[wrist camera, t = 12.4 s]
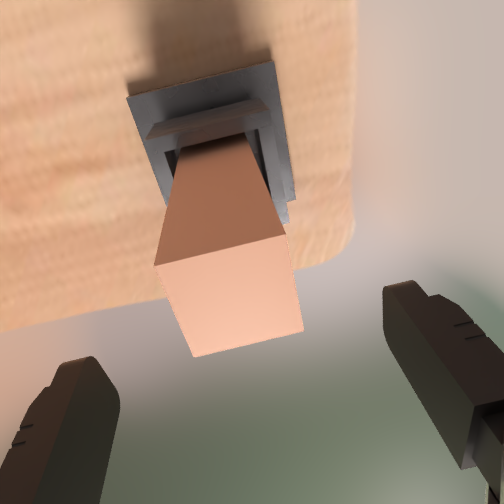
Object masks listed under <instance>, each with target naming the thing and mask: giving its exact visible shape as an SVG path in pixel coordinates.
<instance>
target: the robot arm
mask: <svg viewBox="0 0 504 504" xmlns="http://www.w3.org/2000/svg"><path fill="white" fill-rule="evenodd" d="M382 295H383V330H384V335H385V338H386V341H387V344H388V346H389V348H390V350H391V352H392V354H393V355H394V357H395V359H396V360H397V362H398V364H399V366H400V367H401V369H402V371H403V372H404V374H405V376H406V377H407V379H408V381H409V382H410V384H411V386H412V388H413V389H414V391H415V393H416V394H417V396H418V398H419V400H420V401H421V403H422V405H423V406H424V408H425V410H426V411H427V413H428V415H429V417H430V418H431V420H432V422H433V423H434V425H435V427H436V429H437V430H438V432H439V434H440V435H441V437H442V439H443V440H444V442H445V444H446V446H447V447H448V449H449V451H450V452H451V454H452V456H453V457H454V459H455V461H456V462H457V464H458V466H459V468H460V469H461V470H463V469H467V468H472V467H476V466H477V467H478V468H479V469H480V472H481V473H482V475H483V476H484V478H485V479H486V481H487V483H486V494H485V504H504V353H503V352H502V351H501V350H500V349H499V348H498V347H497V345H496V344H494V342H493V341H492V340H491V339H490V338H489V337H486V335H485V333H484V332H483V330H482V329H481V328H480V327H479V326H478V325H477V324H474V322H473V320H472V319H471V318H470V317H469V315H467V313H466V312H465V311H464V310H463V309H462V308H461V307H460V306H459V305H457V304H456V303H454V302H452V301H450V300H449V299H447V298H445V297H443V296H441V295H439V294H438V295H433V296H429V297H428V295H427V294H426V293H425V292H424V291H423V289H422V288H421V287H420V286H419V285H418V284H417V283H416V282H415V281H413V280H410V281H406V282H402V283H397V284H393V285H389V286H385V287H384V288H383V294H382ZM119 413H120V399H119V395H118V392H117V390H116V388H115V386H114V385H113V383H112V382H111V380H110V379H109V377H108V376H107V374H106V373H105V371H104V370H103V369H102V367H101V365H100V364H99V362H98V361H97V360H96V359H95V358H94V357H92V356H89V357H85V358H81V359H77V360H73V361H68V362H65V363H62V364H61V365H60V366H59V367H58V369H57V372H56V374H55V376H54V379H53V381H52V383H51V385H50V386H49V387H45V388H44V389H43V390H42V392H41V393H40V394H39V395H38V397H37V398H36V399H35V400H34V401H33V403H32V404H31V405H30V406H29V408H28V410H27V413H26V414H25V417H24V419H23V421H22V423H21V425H20V431H18V432H17V434H16V436H15V438H14V440H13V442H12V448H11V449H9V451H8V453H7V455H6V457H5V459H4V461H3V464H2V466H1V468H0V504H99V502H100V498H101V494H102V489H103V485H104V480H105V476H106V471H107V467H108V462H109V458H110V453H111V448H112V444H113V440H114V435H115V431H116V426H117V422H118V418H119Z"/></svg>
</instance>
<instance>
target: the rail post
mask: <svg viewBox="0 0 504 504" xmlns="http://www.w3.org/2000/svg"><path fill="white" fill-rule="evenodd" d="M154 269H155V271H156V273H157V275H158V278H159V280H160V282H161V284H162V287H163V289H164V291H165V293H166V296H167V298H168V300H169V302H170V305H171V307H172V309H173V311H174V314H175V316H176V318H177V320H178V323H179V325H180V327H181V330H182V332H183V334H184V336H185V339H186V341H187V343H188V345H189V348H190V350H191V352H192V354H193V357H199V356H203V355H207V354H211V353H215V352H219V351H223V350H228V349H232V348H236V347H240V346H244V345H248V344H253V343H257V342H261V341H265V340H269V339H273V338H277V337H281V336H286V335H290V334H294V333H298V332H302V331H304V327H303V322H302V317H301V311H300V306H299V301H298V296H297V290H296V285H295V280H294V274H293V269H292V264H291V258H290V253H289V248H288V243H287V237H286V233H285V231H284V228H283V226H282V223H281V221H280V218H279V216H278V214H277V211H276V209H275V206H274V204H273V201H272V199H271V196H270V194H269V191H268V189H267V187H266V184H265V182H264V179H263V177H262V174H261V172H260V169H259V167H258V165H257V162H256V160H255V157H254V155H253V152H252V150H251V147H250V145H249V143H248V140H247V138H246V135H245V133H244V132H243V133H238V134H234V135H230V136H226V137H222V138H218V139H214V140H210V141H206V142H202V143H198V144H194V145H190V146H186V147H182V148H181V149H180V153H179V158H178V162H177V166H176V171H175V175H174V179H173V184H172V188H171V193H170V197H169V201H168V206H167V210H166V214H165V219H164V223H163V228H162V232H161V236H160V241H159V245H158V249H157V254H156V258H155V263H154Z"/></svg>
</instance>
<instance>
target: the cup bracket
mask: <svg viewBox="0 0 504 504" xmlns="http://www.w3.org/2000/svg"><path fill="white" fill-rule="evenodd" d="M126 99H127V102H128V105H129V107H130V110H131V113H132V115H133V118H134V121H135V123H136V126H137V129H138V131H139V134H140V137H141V139H142V142H143V145H144V147H145V150H146V153H147V155H148V158H149V161H150V163H151V166H152V169H153V171H154V174H155V177H156V179H157V182H158V185H159V187H160V190H161V193H162V196H163V198H164V201H165V204H166V206H168V201H169V197H170V193H171V188H172V184H173V179H174V175H175V171H176V166H177V162H178V158H179V153H180V149H181V148H182V147H186V146H190V145H194V144H198V143H202V142H206V141H210V140H214V139H218V138H222V137H226V136H230V135H234V134H238V133H243V132H244V133H245V135H246V138H247V140H248V143H249V145H250V147H251V150H252V152H253V155H254V157H255V160H256V162H257V165H258V167H259V169H260V172H261V174H262V177H263V179H264V182H265V184H266V187H267V189H268V191H269V194H270V196H271V199H272V201H273V204H274V206H275V209H276V211H277V214H278V216H279V218H280V221H281V223H282V225H283V224H287V223H290V221H289V215H288V209H287V204H286V202H288V201H292V200H296V196H295V190H294V184H293V177H292V171H291V165H290V158H289V152H288V146H287V139H286V133H285V127H284V121H283V114H282V108H281V102H280V95H279V89H278V83H277V76H276V70H275V64H274V61H272V60H271V61H267V62H263V63H259V64H255V65H251V66H247V67H243V68H239V69H235V70H231V71H227V72H223V73H219V74H215V75H211V76H207V77H203V78H199V79H195V80H191V81H187V82H183V83H179V84H175V85H171V86H167V87H163V88H159V89H155V90H151V91H147V92H143V93H139V94H135V95H131V96H128V97H127V98H126Z"/></svg>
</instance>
